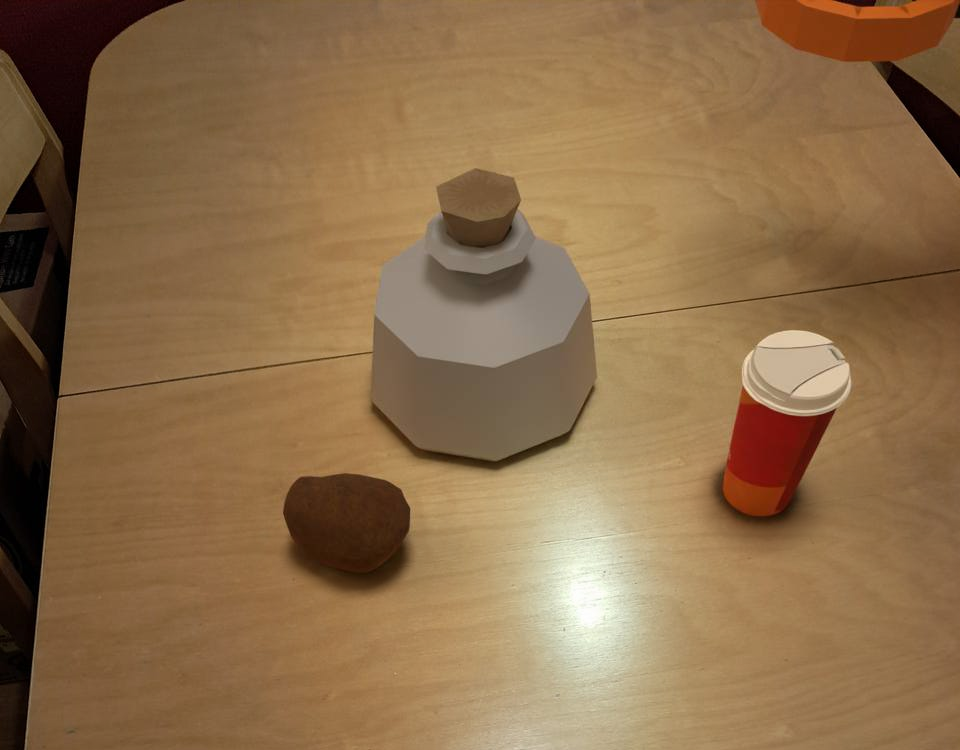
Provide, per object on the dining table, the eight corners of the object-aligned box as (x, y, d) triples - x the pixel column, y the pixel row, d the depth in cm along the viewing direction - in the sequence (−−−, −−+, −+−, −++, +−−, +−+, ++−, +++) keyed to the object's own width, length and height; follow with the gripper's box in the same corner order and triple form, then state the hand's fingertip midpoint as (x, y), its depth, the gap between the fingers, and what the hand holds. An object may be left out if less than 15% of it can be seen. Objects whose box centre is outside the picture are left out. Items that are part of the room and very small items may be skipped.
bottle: (596, 474, 81) (620, 288, 65) (363, 468, 82) (330, 282, 66) (594, 313, 92) (614, 117, 76) (387, 308, 93) (364, 114, 77)
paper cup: (776, 447, 83) (823, 314, 71) (820, 514, 79) (877, 386, 67) (692, 470, 82) (725, 339, 70) (732, 539, 78) (775, 414, 66)
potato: (299, 513, 80) (281, 447, 73) (418, 517, 80) (411, 451, 73) (286, 587, 76) (265, 525, 69) (410, 591, 76) (402, 529, 69)
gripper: (934, -296, 56) (840, 38, 72) (1210, -303, 56) (1055, 34, 72) (906, -339, 60) (823, -13, 76) (1163, -346, 60) (1026, -17, 75)
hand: (936, 7), depth 74 cm, fingers closed
